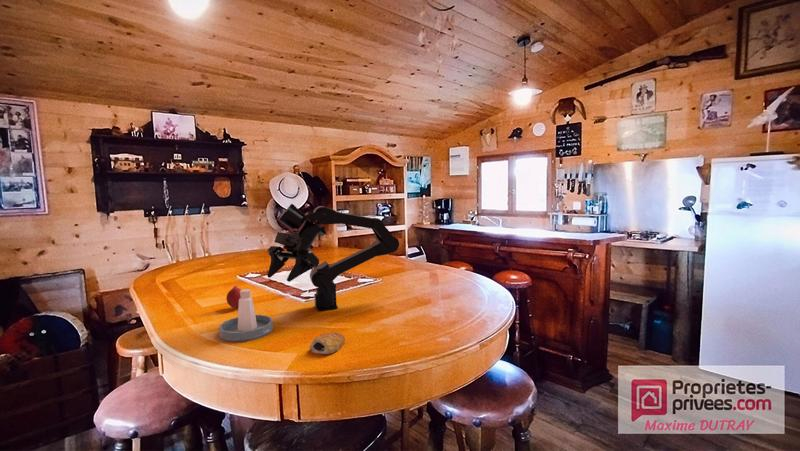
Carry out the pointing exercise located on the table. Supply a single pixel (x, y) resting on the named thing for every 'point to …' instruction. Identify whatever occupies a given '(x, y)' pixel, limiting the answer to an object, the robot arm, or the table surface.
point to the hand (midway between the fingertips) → (277, 279)
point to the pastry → (327, 343)
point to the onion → (234, 297)
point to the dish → (231, 333)
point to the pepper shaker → (246, 312)
